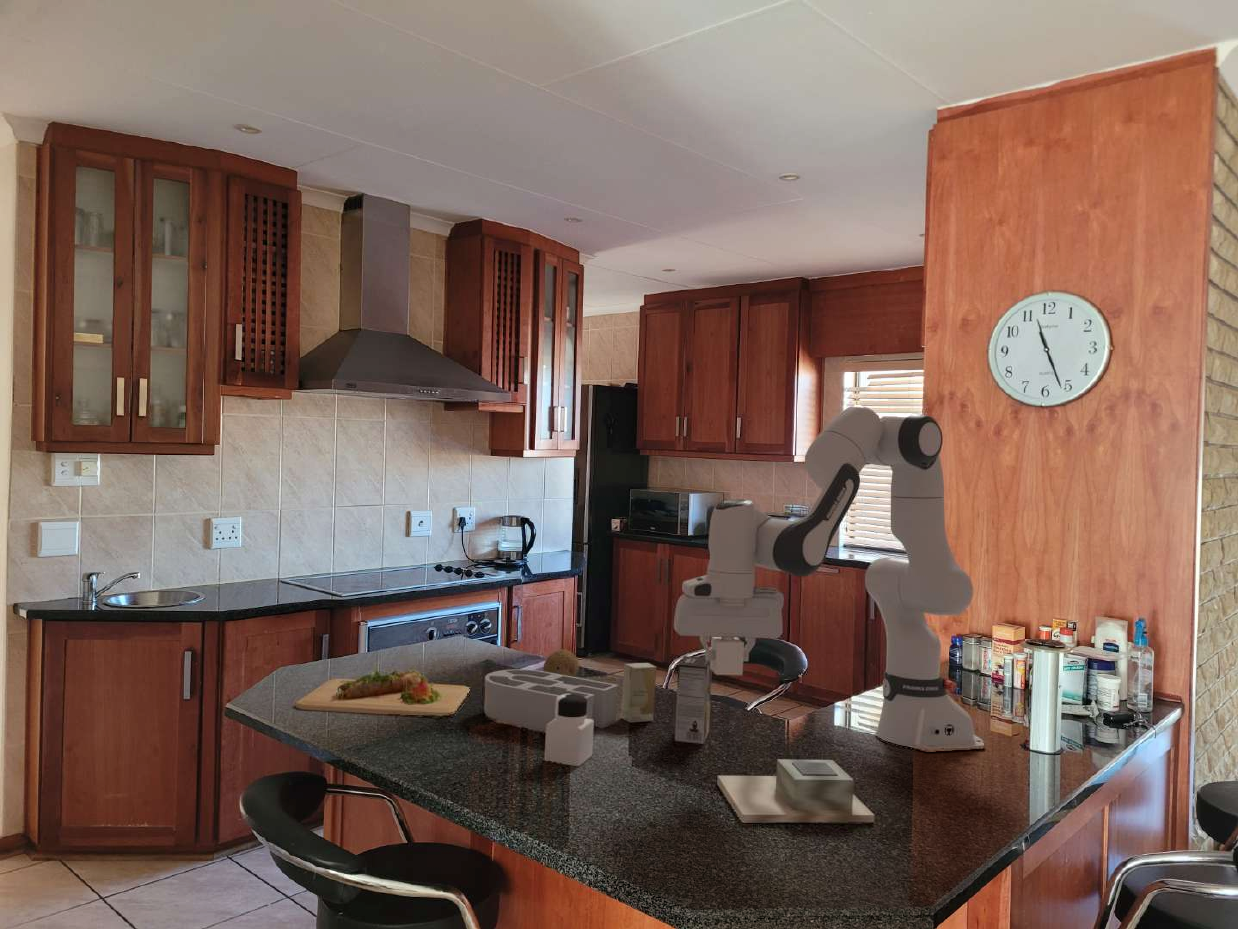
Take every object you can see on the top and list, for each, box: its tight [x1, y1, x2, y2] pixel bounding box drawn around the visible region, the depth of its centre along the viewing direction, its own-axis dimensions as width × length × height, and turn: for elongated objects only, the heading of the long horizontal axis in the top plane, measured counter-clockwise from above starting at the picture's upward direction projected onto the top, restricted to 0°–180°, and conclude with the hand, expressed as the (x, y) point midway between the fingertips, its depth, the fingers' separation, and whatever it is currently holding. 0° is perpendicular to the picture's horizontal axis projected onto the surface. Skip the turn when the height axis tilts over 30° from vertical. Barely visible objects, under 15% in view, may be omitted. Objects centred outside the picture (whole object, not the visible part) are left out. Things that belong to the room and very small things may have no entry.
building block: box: [710, 636, 745, 676], centre depth 169 cm, size 5×5×7 cm
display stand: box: [716, 758, 875, 824], centre depth 155 cm, size 22×18×7 cm
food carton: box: [674, 655, 713, 745], centre depth 191 cm, size 9×6×16 cm
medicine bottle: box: [544, 694, 595, 767], centre depth 172 cm, size 7×7×12 cm
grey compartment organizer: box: [483, 668, 619, 732], centre depth 197 cm, size 17×28×9 cm, turn 62°
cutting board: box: [295, 669, 470, 716], centre depth 208 cm, size 35×23×8 cm
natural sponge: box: [542, 649, 580, 677], centre depth 224 cm, size 9×9×10 cm
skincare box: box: [620, 662, 657, 724], centre depth 201 cm, size 6×4×12 cm
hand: (726, 660), depth 169 cm, fingers closed on building block, 5 cm apart
